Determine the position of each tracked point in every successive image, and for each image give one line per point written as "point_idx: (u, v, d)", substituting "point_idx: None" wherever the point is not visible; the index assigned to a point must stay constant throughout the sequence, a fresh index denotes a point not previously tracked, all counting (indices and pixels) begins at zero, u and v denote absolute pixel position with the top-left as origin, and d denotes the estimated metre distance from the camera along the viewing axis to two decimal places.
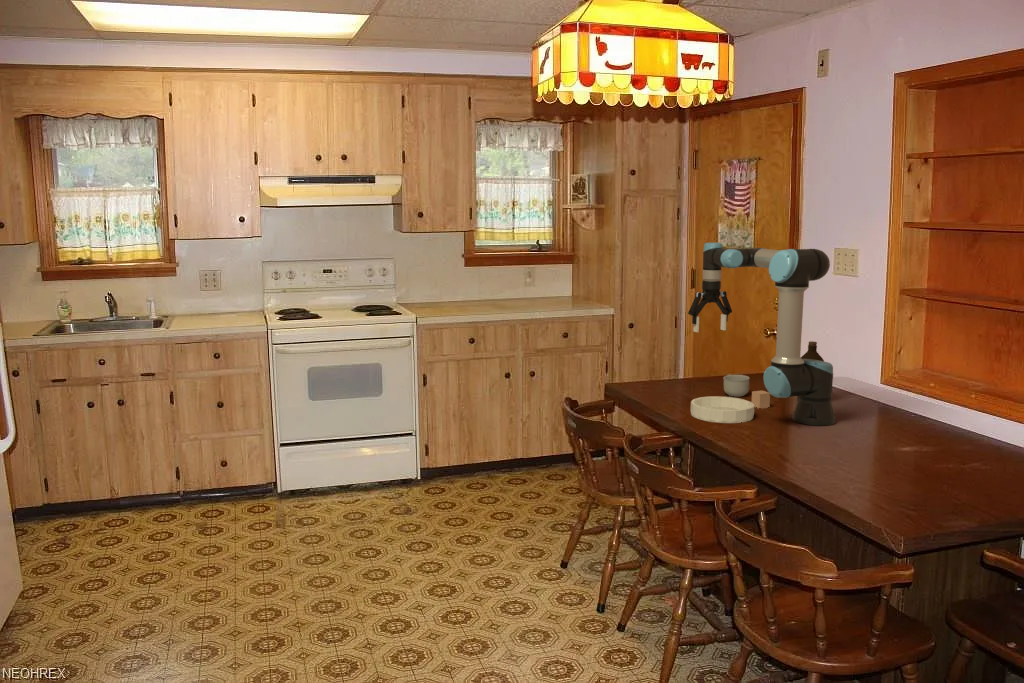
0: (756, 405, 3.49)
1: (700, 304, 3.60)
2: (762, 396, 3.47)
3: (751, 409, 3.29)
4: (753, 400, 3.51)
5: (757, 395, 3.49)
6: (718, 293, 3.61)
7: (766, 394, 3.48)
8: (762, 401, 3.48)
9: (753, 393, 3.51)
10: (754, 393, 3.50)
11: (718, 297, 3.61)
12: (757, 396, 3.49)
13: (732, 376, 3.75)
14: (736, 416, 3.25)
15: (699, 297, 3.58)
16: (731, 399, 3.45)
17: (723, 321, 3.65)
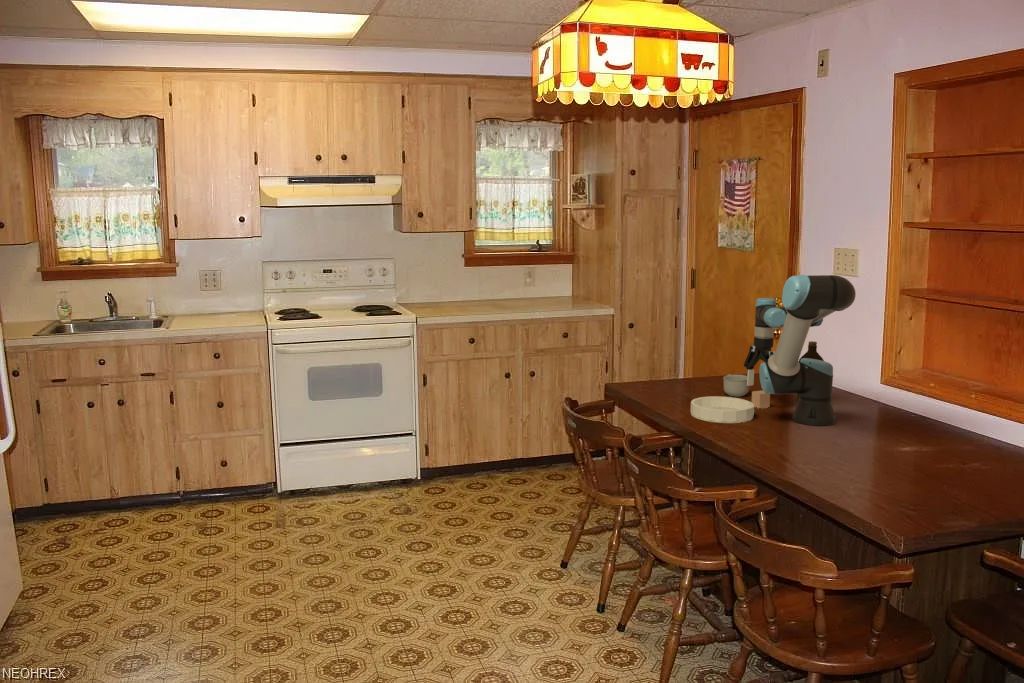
0: (756, 405, 3.49)
1: None
2: (762, 396, 3.47)
3: (751, 409, 3.29)
4: (753, 400, 3.51)
5: (757, 395, 3.49)
6: (765, 352, 3.44)
7: (766, 394, 3.48)
8: (762, 401, 3.48)
9: (753, 393, 3.51)
10: (754, 393, 3.50)
11: (763, 356, 3.45)
12: (757, 396, 3.49)
13: (732, 376, 3.75)
14: (736, 416, 3.25)
15: (750, 350, 3.53)
16: (731, 399, 3.45)
17: None
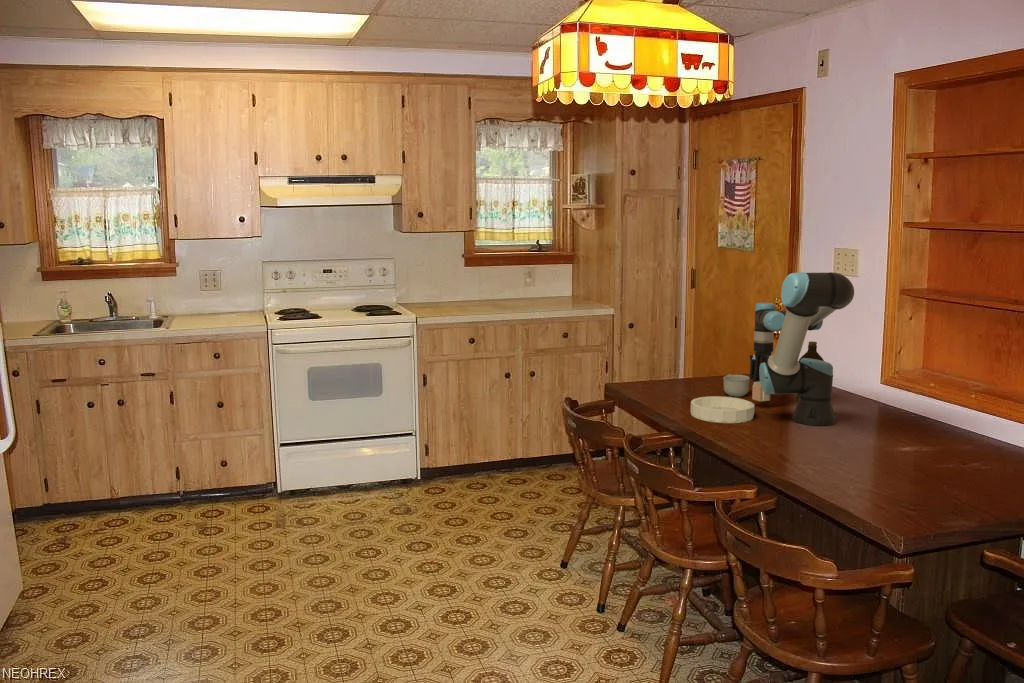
0: (757, 398, 3.48)
1: None
2: None
3: (751, 409, 3.29)
4: (754, 393, 3.50)
5: (757, 388, 3.48)
6: (765, 356, 3.44)
7: None
8: (762, 394, 3.47)
9: (754, 386, 3.50)
10: (755, 386, 3.49)
11: (762, 361, 3.45)
12: (757, 389, 3.48)
13: (732, 376, 3.75)
14: (736, 416, 3.25)
15: (751, 360, 3.53)
16: (731, 399, 3.45)
17: None
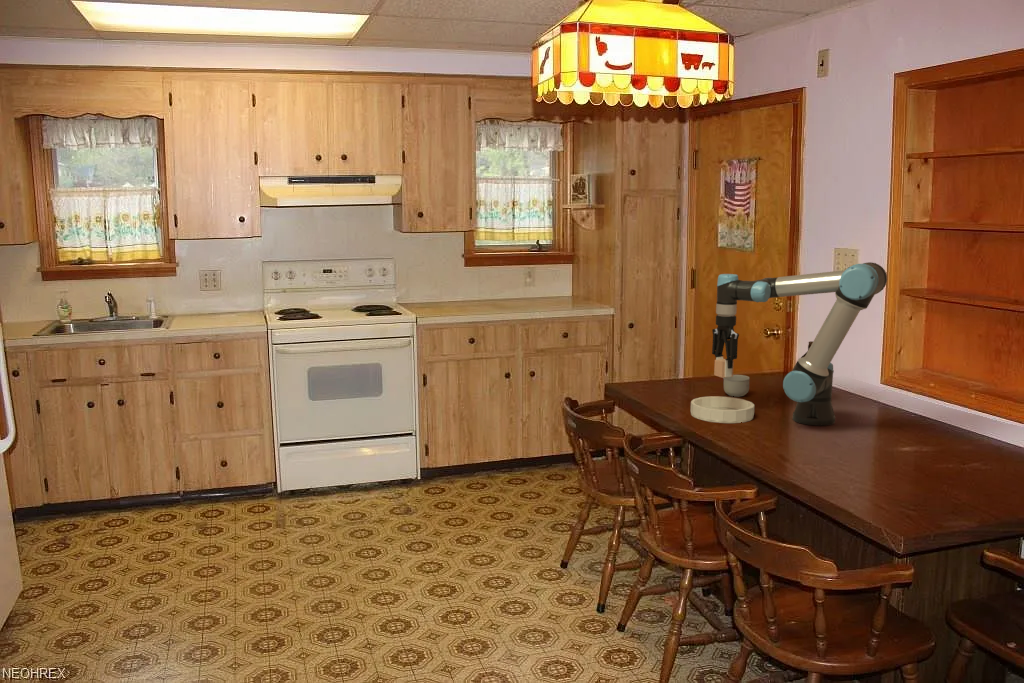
0: (719, 374, 3.33)
1: None
2: None
3: (751, 409, 3.29)
4: (716, 369, 3.34)
5: (719, 363, 3.32)
6: (727, 330, 3.28)
7: None
8: (724, 369, 3.31)
9: (716, 361, 3.34)
10: (717, 361, 3.33)
11: (724, 335, 3.29)
12: (719, 364, 3.32)
13: None
14: (736, 416, 3.25)
15: (713, 334, 3.36)
16: (731, 399, 3.45)
17: None
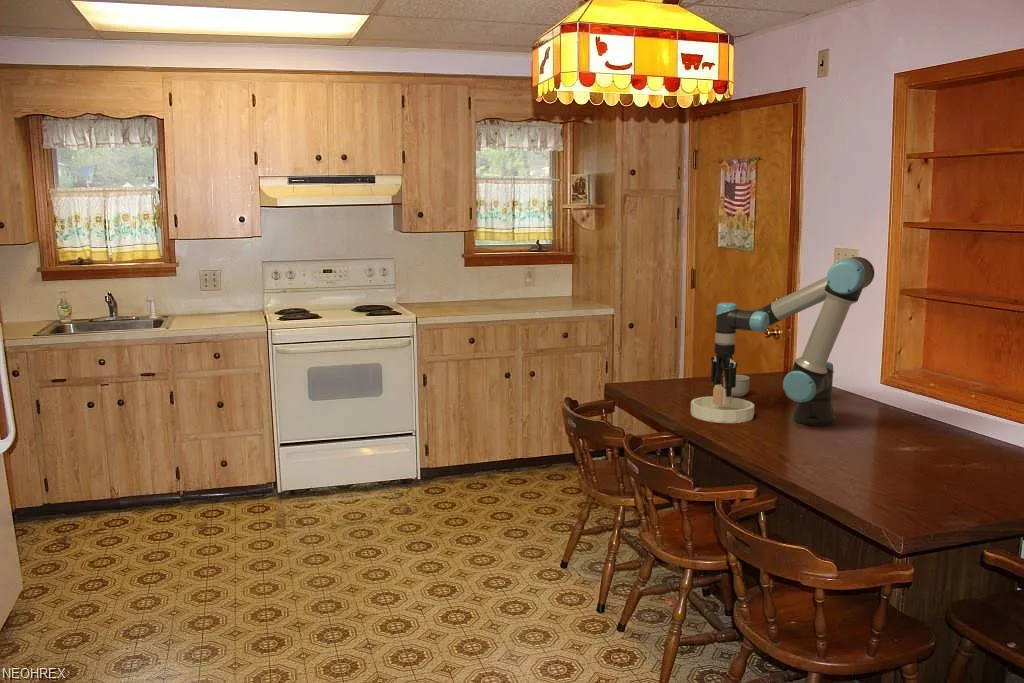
0: (717, 402, 3.34)
1: None
2: (723, 392, 3.33)
3: (751, 409, 3.29)
4: (714, 397, 3.36)
5: (718, 391, 3.34)
6: (726, 359, 3.30)
7: None
8: None
9: (714, 389, 3.36)
10: (715, 389, 3.35)
11: (723, 364, 3.31)
12: (718, 393, 3.34)
13: None
14: (736, 416, 3.25)
15: (712, 362, 3.38)
16: None
17: None
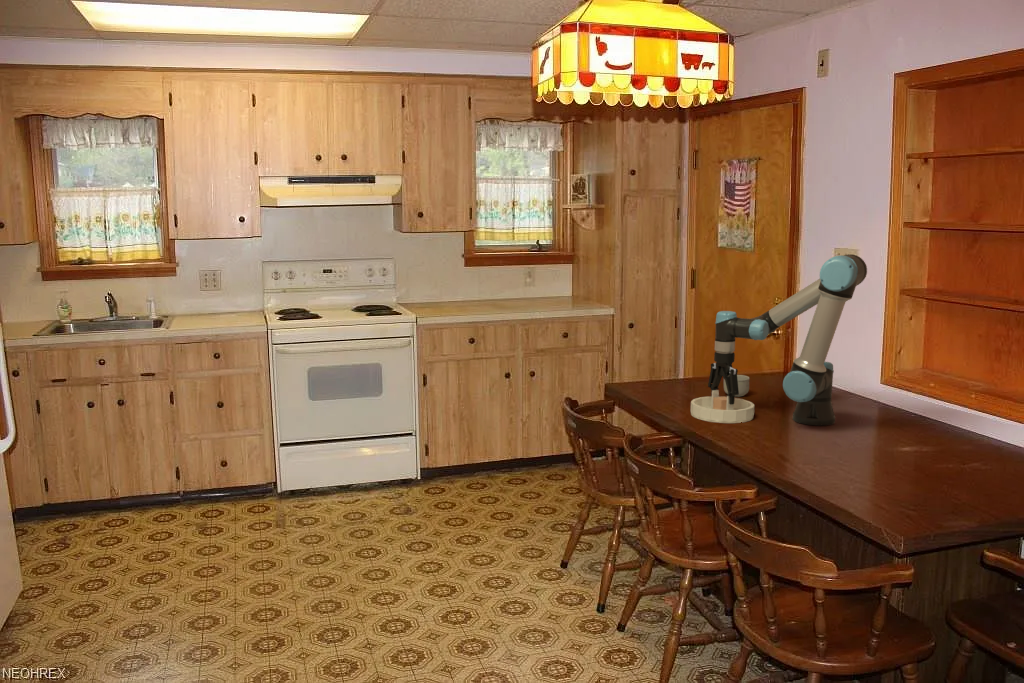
0: None
1: None
2: (724, 402, 3.33)
3: (751, 409, 3.29)
4: (715, 406, 3.36)
5: (718, 401, 3.34)
6: (726, 367, 3.30)
7: None
8: (723, 407, 3.33)
9: (714, 399, 3.36)
10: (715, 399, 3.36)
11: (723, 372, 3.31)
12: (718, 402, 3.34)
13: None
14: (736, 416, 3.25)
15: (711, 368, 3.39)
16: None
17: None
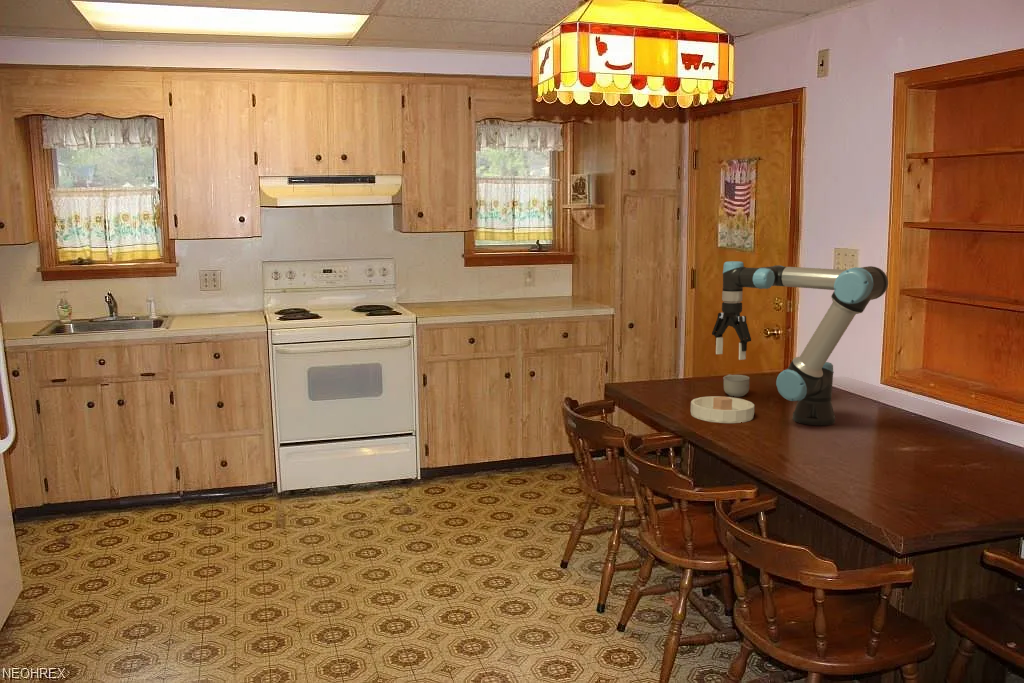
0: None
1: None
2: (724, 402, 3.33)
3: (751, 409, 3.29)
4: (715, 406, 3.36)
5: (718, 401, 3.34)
6: (734, 317, 3.31)
7: (728, 400, 3.34)
8: (723, 407, 3.33)
9: (714, 399, 3.36)
10: (715, 399, 3.36)
11: (732, 321, 3.31)
12: (718, 402, 3.34)
13: (732, 376, 3.75)
14: (736, 416, 3.25)
15: (718, 317, 3.40)
16: None
17: None
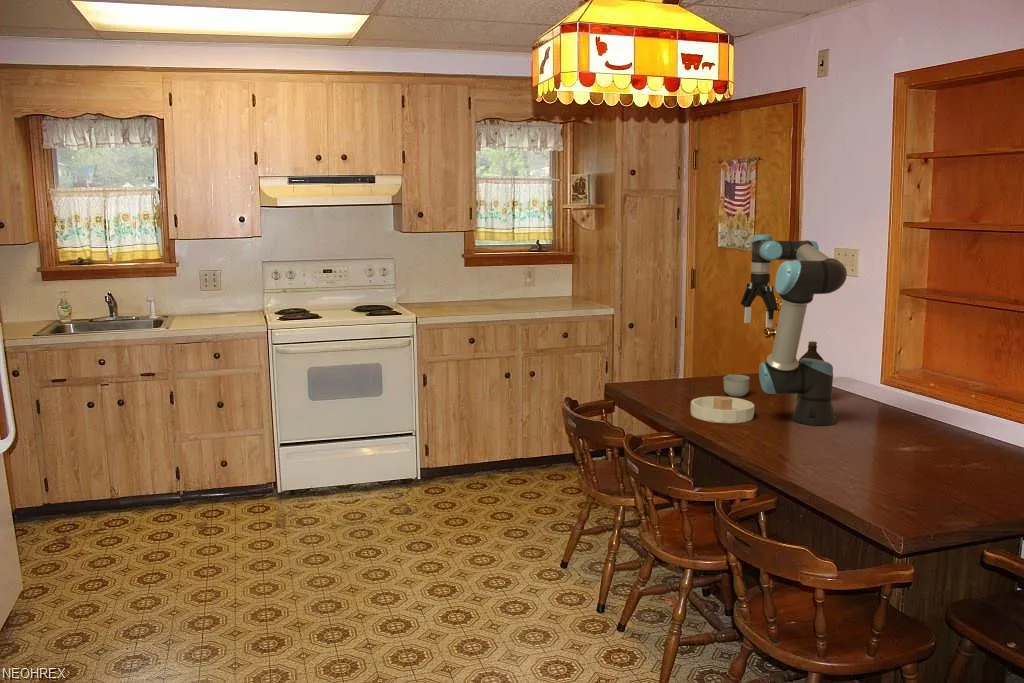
0: None
1: None
2: (724, 402, 3.33)
3: (751, 409, 3.29)
4: (715, 406, 3.36)
5: (718, 401, 3.34)
6: (762, 287, 3.50)
7: (728, 400, 3.34)
8: (723, 407, 3.33)
9: (714, 399, 3.36)
10: (715, 399, 3.36)
11: (760, 291, 3.50)
12: (718, 402, 3.34)
13: (732, 376, 3.75)
14: (736, 416, 3.25)
15: (747, 288, 3.59)
16: None
17: None
